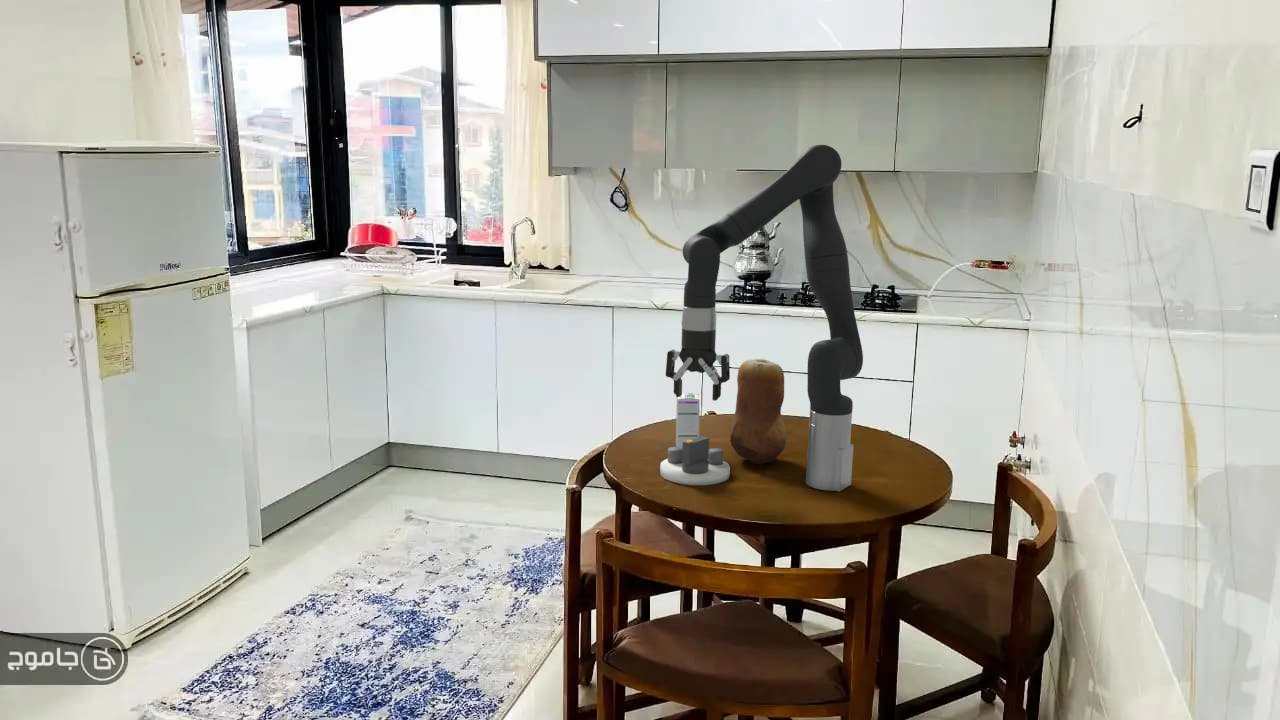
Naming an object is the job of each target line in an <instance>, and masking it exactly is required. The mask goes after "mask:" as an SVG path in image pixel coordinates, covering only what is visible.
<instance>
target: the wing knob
mask: <svg viewBox="0 0 1280 720" xmlns="http://www.w3.org/2000/svg"><path fill="white" fill-rule="evenodd" d="M709 449H710V437H706V436H704V435H702V436H699V437H698V438H695V439H692V440H687V441H685V442H683V453H682V470H683V471H684V472H686V473H691V474H702V473H706V472H708V467H709V461H708V460H707V459H708V458H709Z"/></svg>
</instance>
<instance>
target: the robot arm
mask: <svg viewBox="0 0 1280 720" xmlns="http://www.w3.org/2000/svg"><path fill="white" fill-rule="evenodd" d="M841 170H842V158H841V155H840V154H839V152H838V151H837V150H836V149H835V148H833V146H832V147H831V146H830V145H827V144H817V145H816V144H815V145H812V146H810V147H809V148H807V149H805V150H804V151H803V152H802V153H801V154H800V155H799V156H798V157H797V159H796V161H795V162H794V164H793V165H792V166H791V167H790V168H789V169H788V170H787V171H785V172H784V173H782V174H781V176H779V177H778V178H776V180H774V181H773V182H772V183H770V184H769V185H767V186H765V187H764V188H762V189H761V190H760V191H757V192H756V193H755V194H753V195H752V196H750V197H749V198H747V199H746V200H744V201H742V202H741V203H740V204H738V205H737V206H735V207H734V208H733V209H732V210H730V211H729V212H727V213H726V214H725V215H723V216H722V217H721V218H719V219H718V220H716V221H715V222H714V223H711V224H710V225H708V226H706V227H704V228H702V229H700V230H699V231H698V232H695V233H694V234H693V235H691V236H690V237H689V238H688V239H687V240H686V241H685V242H684V244H683V247H682V256H683V259H684V261H685V262H686V264H688V270H687V271H688V272H687V281H685V284H684V288H683V289H684V290H683V307H682V308H683V310H682V316H681V317H682V318H681V343H680V345H681V347H680V349H681V350H680V351H679V350H678V351H677V350H675V349H671V350H669V351H667V353H666V364H665V377H666V378H670V379H672V380H673V394H674V395H675V397H676V398H677V397H680V396H681V395H682V393H683V379H682V378H683V376H684V375H685V373H687V371H688V372H689V373H695V372H696V373H701V374H702V373H705V374H706V375H707V376H708V377H709V378H710V380H711V381H712V401H716V402H717V400H718V399H719V398H720V397H721V395H722V384H723V383H726V382H728V381H729V380H730V378H731V374H730V355H729V354H728V353H725V354H717V353H716V337H717V336H716V334H717V313H716V304H717V303H716V299H717V297H716V296H717V295H716V294H717V291H716V290H717V289H716V287H717V286H716V285H717V281H718V276H719V271H720V264H721V254H722V253H723V252H725V251H726V250H728V249H729V248H732V247H736V246H739V245H740V244H741V243H743V242H745V241H747V239H749V238H750V237H752V236H753V235H755V234H756V233H758V232H759V231H760V230H761V229H762V228H764V227H765V226H766V225H768V224H769V223H770V222H771V221H772V220H773V219H775V218H776V217H777V216H779V214H780V213H782V212H784V211H785V210H786V209H787V208H788V207H790V206H792V204H793V203H795V202H797V201H798V200H799V205H800V209H801V215H802V233H803V234H802V236H803V247H804V248H803V249H804V260H805V269H806V278H807V282H808V285H809V288H810V289H811V291H812V293H813V295H814V296H815V298H816V300H817V301H818V303H819V304H820V306H821V307H822V309H823V311H824V313H825V315H826V318H827V322H828V328H829V334H830V337H829V338H830V339H823V340H820V341H817V342H815V343H814V344H812V346H811V348H810V349H809V353H808V357H807V386H806V387H807V389H806V390H807V397H808V400H809V403H810V404H809V420H808V421H809V422H808V423H809V424H808V425H809V426H808V441H807V457H806V473H805V475H806V476H805V483H806V485H807V486H809V488H810V487H811V488H813V489H816V490H821V491H836V492H841V491H843V490H844V489H846V488H848V487H850V486H851V484H852V475H853V462H854V461H853V460H854V444H852V443H851V434H852V421H853V418H852V417H853V409H854V405H853V399H852V398H851V397H849V396H847V395H845V394H842V392H841V381H843V380H845V381H846V380H850V379H853V378H855V377H857V376H858V375H859V374H860V372H861V371H862V369H863V364H864V353H863V352H864V351H863V347H862V342H861V338H860V334H859V329H858V328H859V327H858V324H857V319H856V318H857V317H856V314H855V310H854V309H855V308H854V301H853V300H854V299H853V294H852V293H853V291H852V285H851V276H850V275H851V274H850V265H849V264H850V263H849V258H848V257H849V255H848V250H847V249H848V248H847V244H846V241H845V238H844V234H843V232H842V230H841V227H840V224H839V221H838V219H837V216H836V215H837V214H836V209H835V204H834V201H835V200H834V182H835V181H836V180H837V179H838V178H839V176H840V173H841ZM678 358H679V359H680V361H681V362H682V365H681V366H680V367H679V368H678V370H677V371H676V372H675V367H676V366H675V364H676V361H677V360H678ZM716 361H718V364H719V365H720V366H721V367H720V368H721V370H720V372H721V373H720V374H721V376H720V374H719V372H718V370H717V368H716V367H715V365H714V364H715V362H716Z"/></svg>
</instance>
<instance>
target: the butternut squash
mask: <svg viewBox="0 0 1280 720" xmlns="http://www.w3.org/2000/svg"><path fill="white" fill-rule="evenodd" d="M736 377H737V378H736V383H737V391H736V392H737V393H736V403H735V412H734V415H733V418H732V421H731V423H730V427H729V442H730V444H731V447H732V449H733V451H734V452H735V453H736V454H737V456H739V457H741V458H743V459H746V460H747V461H749V462H751V463H752V464H757V465H758V464H759V465H764V464H766V463H771V462H773V461H775V460H777V458H778V457H779V456H780V455H781V454H782V453H783V452H784V449H785V447H786V444H787V432H786V431H787V429H786V426H785V422H784V420H783V417H782V405H783V403H784V400H785V399H784V398H785V374H784V369H783V368H782V367H781V365H779V364H778V363H776V362H772V361H770V360H767V359H764V358H755V359H754V358H753V359H747V360H744V361H743V362H742V363H741V365H740V366H739V368H738V371H737V376H736Z"/></svg>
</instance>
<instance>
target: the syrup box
mask: <svg viewBox="0 0 1280 720" xmlns="http://www.w3.org/2000/svg"><path fill="white" fill-rule="evenodd" d="M675 402H676V405H675V407H676V409H675V412H676V414H675V415H676V416H675V447H680V448H683V442H685V441H687V440H692V439H695V438H698V437H700V427H701V426H700V421H701V420H700V418H701V417H700V416H701V415H700V413H701V411H700V394H699V393H691V392H688V393H687V392H686V393H685V392H682V395H681V396H680V397H676V401H675Z"/></svg>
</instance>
